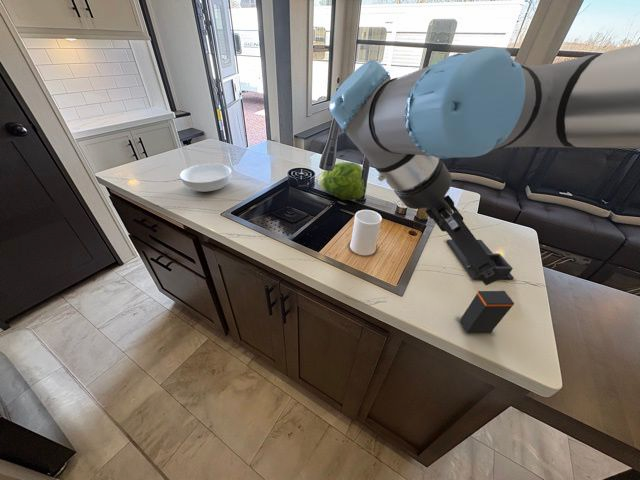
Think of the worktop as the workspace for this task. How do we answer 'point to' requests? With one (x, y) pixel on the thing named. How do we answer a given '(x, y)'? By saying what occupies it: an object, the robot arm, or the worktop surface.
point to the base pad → (497, 258)
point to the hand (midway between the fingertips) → (472, 252)
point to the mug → (365, 232)
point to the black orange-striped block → (486, 311)
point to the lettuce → (343, 181)
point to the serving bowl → (206, 177)
